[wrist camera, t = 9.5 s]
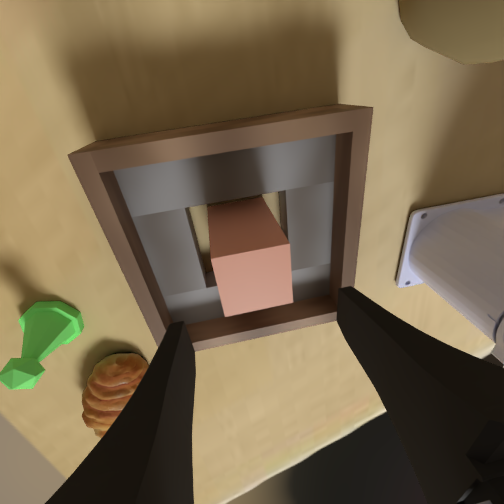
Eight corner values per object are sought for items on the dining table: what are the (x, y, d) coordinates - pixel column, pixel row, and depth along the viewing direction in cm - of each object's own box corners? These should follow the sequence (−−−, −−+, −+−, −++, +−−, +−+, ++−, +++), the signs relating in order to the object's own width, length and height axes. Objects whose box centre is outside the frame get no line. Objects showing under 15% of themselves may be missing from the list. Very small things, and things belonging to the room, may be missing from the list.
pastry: (81, 346, 24) (63, 386, 21) (160, 346, 26) (155, 382, 22) (92, 407, 28) (79, 447, 25) (158, 403, 30) (154, 440, 27)
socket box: (338, 103, 17) (373, 107, 14) (330, 286, 25) (350, 317, 21) (95, 141, 16) (67, 154, 12) (168, 320, 24) (163, 358, 20)
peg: (262, 196, 19) (289, 243, 13) (267, 244, 21) (293, 302, 15) (207, 206, 19) (210, 258, 13) (217, 253, 21) (225, 316, 15)
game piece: (10, 310, 21) (-52, 381, 16) (63, 292, 21) (19, 358, 16) (47, 344, 23) (4, 416, 18) (95, 329, 23) (66, 396, 18)
